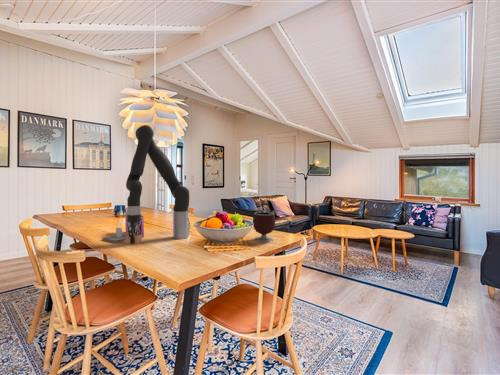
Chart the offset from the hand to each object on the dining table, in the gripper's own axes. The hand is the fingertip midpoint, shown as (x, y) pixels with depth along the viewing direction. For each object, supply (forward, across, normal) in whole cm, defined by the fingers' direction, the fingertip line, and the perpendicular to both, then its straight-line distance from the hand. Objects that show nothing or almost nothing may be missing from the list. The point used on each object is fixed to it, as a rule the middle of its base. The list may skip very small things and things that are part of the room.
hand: (133, 241), depth 162 cm
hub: (0, 0, 0) cm, 0 cm away
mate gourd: (+1, -4, +79) cm, 79 cm away
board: (0, -8, -12) cm, 14 cm away
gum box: (+1, -22, -6) cm, 23 cm away
